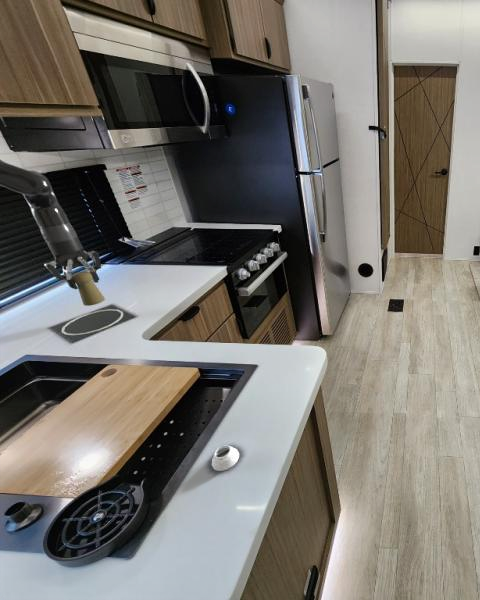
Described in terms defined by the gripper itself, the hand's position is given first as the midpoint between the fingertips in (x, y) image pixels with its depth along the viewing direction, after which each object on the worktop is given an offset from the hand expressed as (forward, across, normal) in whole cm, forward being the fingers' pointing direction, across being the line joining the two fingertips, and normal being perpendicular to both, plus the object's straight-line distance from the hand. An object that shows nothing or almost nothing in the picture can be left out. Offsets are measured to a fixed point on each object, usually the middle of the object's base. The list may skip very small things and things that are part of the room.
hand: (85, 285), depth 113 cm
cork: (+7, 0, 0) cm, 7 cm away
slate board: (+13, +3, +3) cm, 14 cm away
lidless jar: (+13, +15, +92) cm, 94 cm away
